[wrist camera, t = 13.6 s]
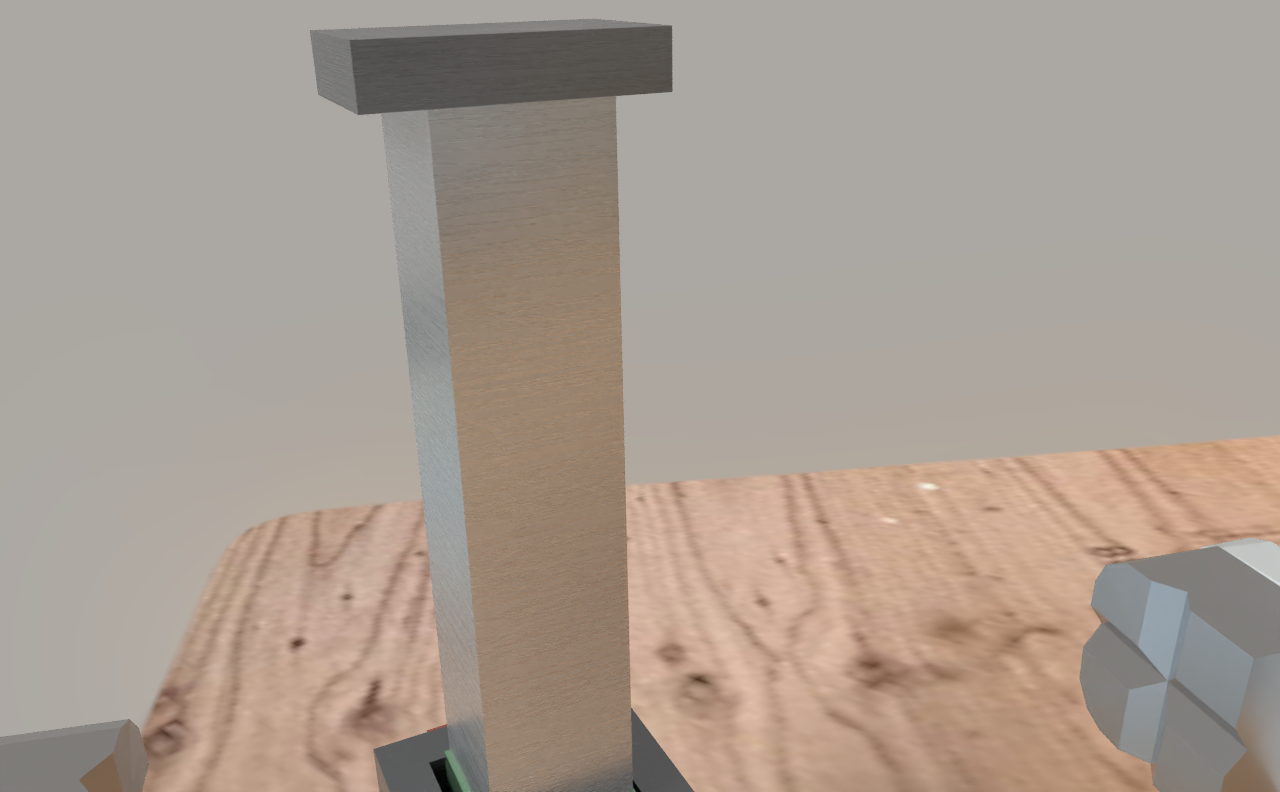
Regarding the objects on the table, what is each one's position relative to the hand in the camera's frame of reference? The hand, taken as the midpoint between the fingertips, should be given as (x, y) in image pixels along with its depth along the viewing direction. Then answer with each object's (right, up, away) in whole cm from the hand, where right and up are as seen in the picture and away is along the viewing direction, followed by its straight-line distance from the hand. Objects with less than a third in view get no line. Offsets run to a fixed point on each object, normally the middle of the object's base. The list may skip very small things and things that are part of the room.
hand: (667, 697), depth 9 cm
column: (-2, -10, +15) cm, 19 cm away
